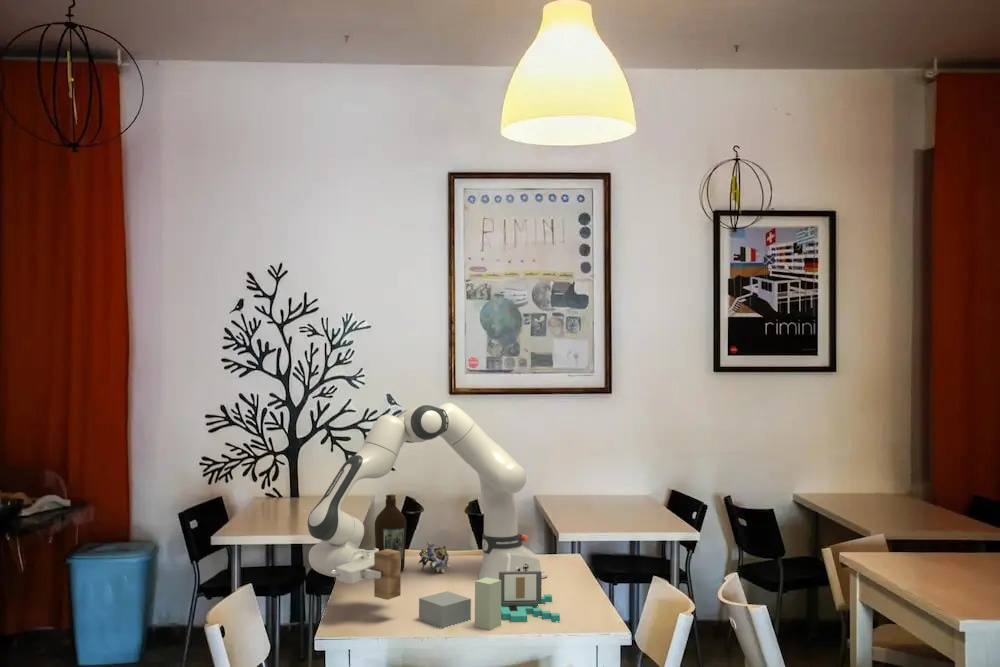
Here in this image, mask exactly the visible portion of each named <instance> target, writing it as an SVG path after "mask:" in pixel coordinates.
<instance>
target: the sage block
mask: <svg viewBox="0 0 1000 667" xmlns="http://www.w3.org/2000/svg"><path fill="white" fill-rule="evenodd" d="M499 625H501V626H502V618H501V580H498V579H493V578H488V577H485V578H483V579H478V580H475V581H474V627H475V626H476V627H475V628H479V627H480V629H483V630H486V631H491V629H492V630H493V629H495V628H498V627H500V626H499ZM497 626H498V627H497Z"/></svg>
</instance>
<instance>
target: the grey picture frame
mask: <svg viewBox="0 0 1000 667" xmlns="http://www.w3.org/2000/svg"><path fill="white" fill-rule="evenodd" d="M542 579H543V578H542V572H541V571H504V572H499V580H501V605H503V606H522V605H538V604H541V597H542V586H543V585H542V581H543V580H542ZM538 606H539V605H538Z"/></svg>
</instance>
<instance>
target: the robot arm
mask: <svg viewBox="0 0 1000 667" xmlns="http://www.w3.org/2000/svg"><path fill="white" fill-rule="evenodd" d="M438 437H441V438H442V439H444V441H445V442H446V443H447V444H448V445H449V447H450V448H452V449H453V451H454V452H456V454H457V455H458V456H459V457H460V458H461V459H462V460H463V461H464V462H465V463H466V464H467V465H469V466H470V467H471V468H472V469H473V470H475V472H477V475H478V478H479V483H480V490H481V491H480V493H481V497H482V498H481V499H482V504H483V533H482V544H481V545H482V558H481V559H482V561H481V566H480V570H479V575H478V580H480V579H483V578H485V577H488V578H493V579H498V580H499V572H504V571H541V572H542V579H546V578H548V573H547V571H545V570H544V569H542V568H541V564H540V559H539V557H538V556H537V554H536V553H534V552H533V551H532V550H530V549H529V548H528V547H526V546H525V545H523V542H524V543H528V541H529V539H530V537H529V536H528V535H526V534H520V533H519V532H518V531H519V527H518V526H519V509H518V506H517V503H516V498H515V494H516V493H518V492H519V493H520V491H521V490H522V489H523V488H524V487H525V485H526V482H527V475H526V471H525V469H524V468H523V467H522V466H521V464H519V462H517V461H516V459H515V458H513V457H512V456H511V455H510V454H509V453H508V452H506V450H505V449H504V448H502V447H501V446H500V445H499V444H498V443H496V442H495V441H494V440H493V439H492V438H491V437H490V436H489V435H488V434H487V433H486V432H485V431H484V430H483V429H482V427H481V426H480V425H478V423H476V421H475V420H474V419H473V418H472V416H470V415H469V414H468V413H466V412H465V411H464V410H463V409H462V408H460V407H459V406H457V405H456V404H454V403H452V402H444V403H442V404H441V405H438V407H437V406H433V405H428V404H426V405H419V406H418V405H417V406H413V407H411V408H409V409H406V410H403V411H401V413H399V414H398V415H397V416H395V415H392V414H384V415H380V416H379V417H378V418H377V419H376V421H375V422H374V423H373V425H372V426H371V428H370V430H369V432H368V434H367V435H366V437H365V439H364V441H363V443H362V446H361V447H360V449H359V450H358V452H357V453H355V455H351V456H349V457H348V459H346V461H345V462H344V463H343V465H342V466H341V467H340V469H339V471H338V472H337V474H336V475H335V477H334V479H333V480H332V481H331V483H330V485H329V486H328V488H327V489H326V491H325V493H324V495H323V496H322V498H321V499H320V501H319V502H318V503H317V504H316V505H315V506H314V508H312V510H311V511H310V513H309V514H308V517H307V518H308V519H307V528H308V532H309V534H310V536H311V537H312V538H314V539H317V540H320V542H318V543H316V544H314V545H313V546H312V547H311V548H310V550H309V552H308V562H309V565H310V567H311V568H312V570H314V571H316V572H317V573H319V574H322V575H324V576H328V577H333V578H335V577H336V581H339V582H341V583H344V584H350V585H351V584H352V585H353V584H357V583H360V582H363V581H365V580H369V579H374V578H377V579H380V578H382V577H383V571H380V570H378V571H374V553H375V552H378V551H379V549H377V548H376V547H372V548H371V547H370V548H361V546H362V543H363V542H364V538H365V532H366V529H365V525H364V523H363V521H362V520H360V519H359V518H357V517H355V516H354V515H352V514H350V513H347V512H345V511H344V510H341V509H342V508H341V506H342V504H343V502H344V501H345V499H346V497H347V496H348V494H349V493H350V491H351V489H352V488H353V486H354V484H356V483H357V482H358V481H359V480H363V479H380V478H383V477H384V476H386V475H388V474H390V472H391V471H392V469H393V467H394V465H395V463H396V461H397V459H398V456H399V453H400V451H401V448H402V447H403V446H404V444H405V443H408V444H413V443H423V442H427V441H430V440H434V439H436V438H438ZM400 567H401V558H400ZM545 577H546V578H545Z"/></svg>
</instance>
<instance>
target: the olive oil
mask: <svg viewBox="0 0 1000 667" xmlns="http://www.w3.org/2000/svg"><path fill="white" fill-rule="evenodd" d="M396 497H397V495H396V494H392V493H391V494H386V495H385V498H386V499H385V506H384V508H383V509H382V510H381V511H380V512H379V513H378V515H377V516H376V518H375V520H374V541H375V542H374V543H375V545H374V546H375V547H374V548H377V549H379V551H382V550H385V549H390V550H395V551H400V558H401V567H400V571H401V572H403V571H404V570H405V561H406V560H405V559H406V558H405V557H406V554H405V553H406V539H407V538H406V537H407V519H406V517H405V515H404V514H403V512H401V511H400V509H399V508H398V507H397V506H396V505H397V499H396Z"/></svg>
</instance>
